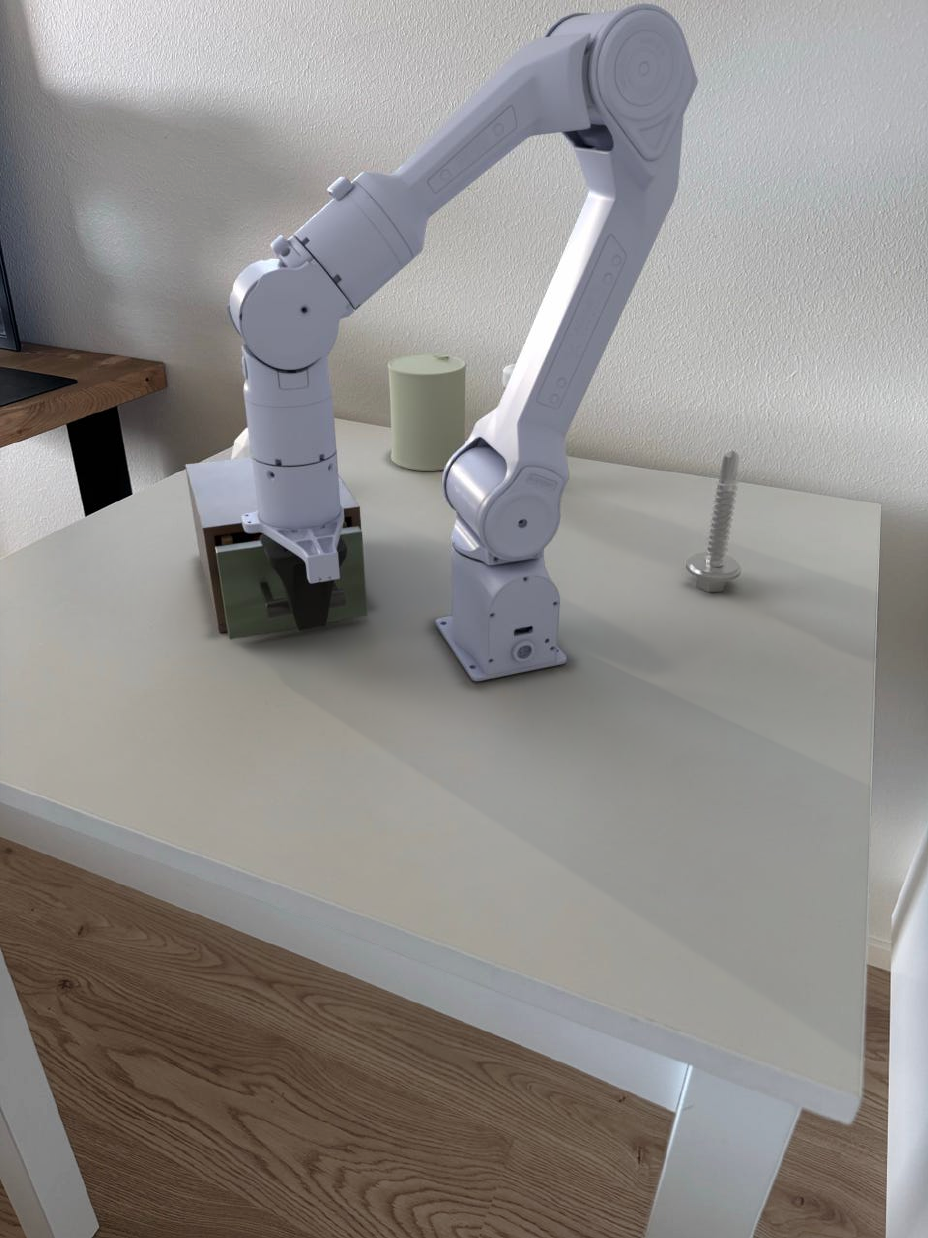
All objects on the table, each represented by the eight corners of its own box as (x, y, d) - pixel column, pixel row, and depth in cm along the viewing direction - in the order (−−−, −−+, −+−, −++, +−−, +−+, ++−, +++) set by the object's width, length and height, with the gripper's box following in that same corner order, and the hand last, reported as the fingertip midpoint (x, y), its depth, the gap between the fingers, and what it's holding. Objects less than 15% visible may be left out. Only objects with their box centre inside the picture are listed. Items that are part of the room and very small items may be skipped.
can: (479, 453, 112) (481, 355, 106) (440, 476, 106) (439, 374, 99) (417, 439, 116) (415, 345, 110) (376, 462, 110) (371, 362, 103)
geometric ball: (254, 513, 103) (213, 453, 102) (312, 476, 105) (272, 417, 104) (261, 504, 96) (217, 439, 94) (323, 465, 98) (280, 401, 97)
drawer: (382, 643, 72) (378, 556, 68) (238, 670, 69) (224, 580, 65) (331, 548, 87) (325, 472, 83) (210, 567, 84) (197, 488, 80)
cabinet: (366, 607, 79) (360, 506, 74) (219, 633, 75) (202, 528, 70) (328, 539, 91) (321, 448, 86) (200, 558, 87) (185, 464, 82)
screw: (740, 578, 84) (734, 602, 80) (688, 569, 85) (679, 593, 82) (764, 444, 77) (759, 463, 73) (707, 437, 79) (698, 455, 75)
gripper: (220, 425, 66) (242, 589, 73) (251, 499, 54) (274, 686, 61) (315, 415, 68) (328, 575, 75) (365, 484, 56) (375, 666, 63)
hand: (310, 624), depth 68 cm, fingers closed
